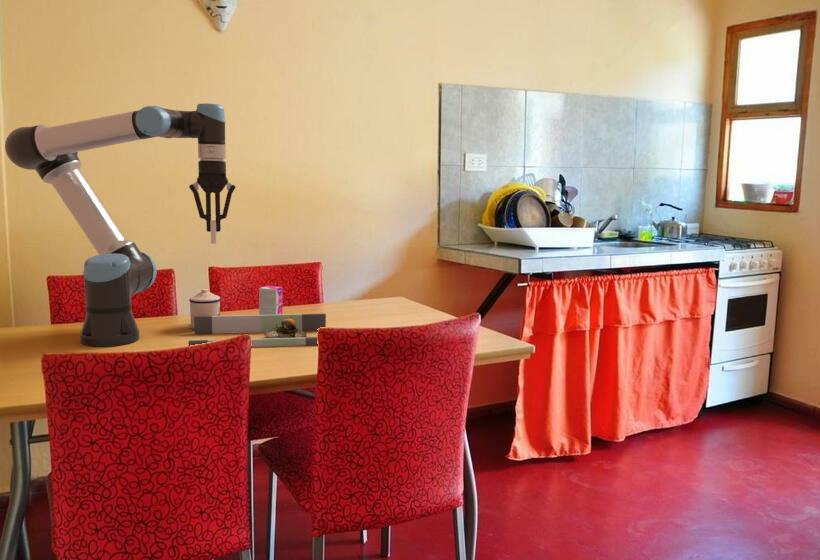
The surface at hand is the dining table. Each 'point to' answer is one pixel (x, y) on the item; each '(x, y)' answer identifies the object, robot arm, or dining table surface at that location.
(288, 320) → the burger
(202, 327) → the trap lane
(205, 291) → the teacup with lid
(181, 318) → the dining table surface
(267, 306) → the supplement box
